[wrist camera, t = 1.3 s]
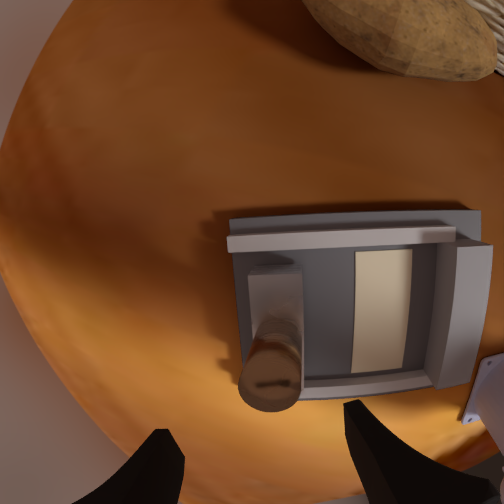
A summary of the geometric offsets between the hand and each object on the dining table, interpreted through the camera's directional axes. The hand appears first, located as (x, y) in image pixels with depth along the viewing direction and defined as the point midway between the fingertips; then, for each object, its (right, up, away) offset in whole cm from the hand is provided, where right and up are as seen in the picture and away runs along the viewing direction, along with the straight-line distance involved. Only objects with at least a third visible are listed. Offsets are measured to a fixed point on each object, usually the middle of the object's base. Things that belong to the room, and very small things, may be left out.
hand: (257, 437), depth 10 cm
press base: (+8, +3, +10) cm, 13 cm away
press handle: (+2, +3, +9) cm, 10 cm away
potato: (+10, +23, +6) cm, 26 cm away
